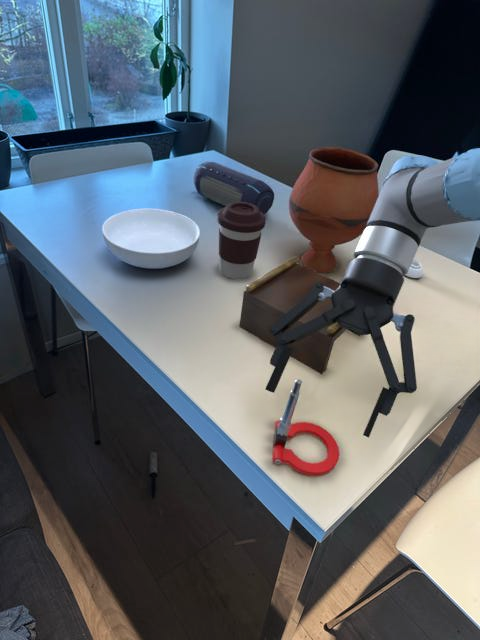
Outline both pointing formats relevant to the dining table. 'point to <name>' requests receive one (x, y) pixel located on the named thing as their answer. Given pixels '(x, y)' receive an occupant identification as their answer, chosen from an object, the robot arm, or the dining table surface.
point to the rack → (279, 298)
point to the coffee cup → (239, 238)
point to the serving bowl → (151, 237)
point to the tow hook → (290, 430)
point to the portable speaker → (231, 186)
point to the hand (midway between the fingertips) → (315, 413)
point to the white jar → (415, 270)
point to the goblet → (333, 202)
